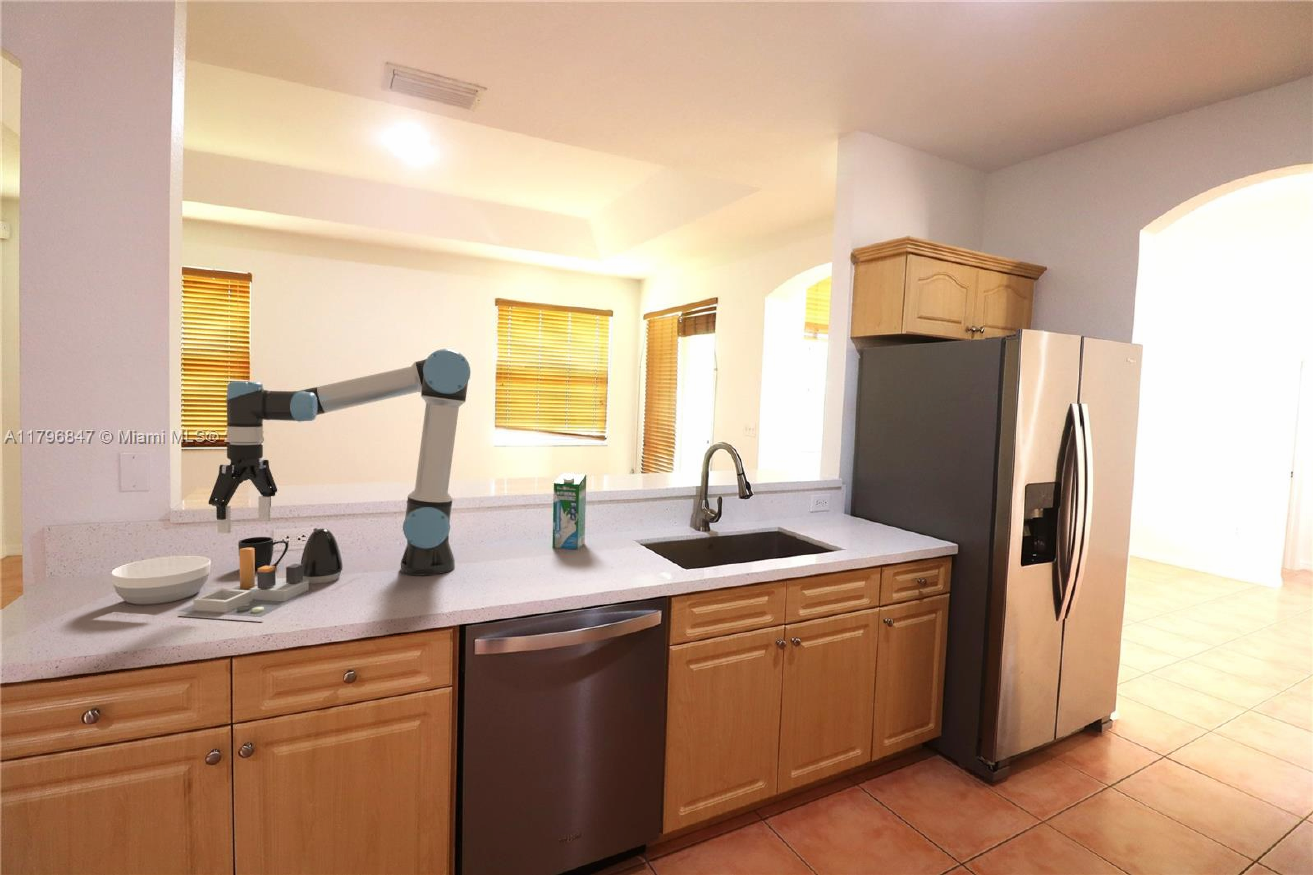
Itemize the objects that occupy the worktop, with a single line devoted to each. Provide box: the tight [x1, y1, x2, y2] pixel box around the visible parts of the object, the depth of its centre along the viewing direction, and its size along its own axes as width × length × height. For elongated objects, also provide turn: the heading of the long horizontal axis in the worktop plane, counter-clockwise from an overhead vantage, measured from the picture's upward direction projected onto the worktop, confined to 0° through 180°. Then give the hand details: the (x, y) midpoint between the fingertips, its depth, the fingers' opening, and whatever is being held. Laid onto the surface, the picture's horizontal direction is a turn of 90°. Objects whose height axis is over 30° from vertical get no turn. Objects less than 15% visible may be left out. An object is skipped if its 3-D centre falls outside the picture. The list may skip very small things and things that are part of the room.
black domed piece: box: [300, 528, 344, 584], centre depth 166 cm, size 10×10×15 cm
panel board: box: [177, 577, 316, 624], centre depth 150 cm, size 20×20×4 cm
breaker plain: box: [285, 563, 303, 583], centre depth 155 cm, size 2×3×4 cm
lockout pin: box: [238, 548, 256, 590], centre depth 157 cm, size 3×3×10 cm
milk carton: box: [552, 472, 587, 550], centre depth 216 cm, size 9×9×25 cm
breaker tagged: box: [256, 565, 277, 589], centre depth 150 cm, size 2×3×5 cm
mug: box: [237, 536, 290, 572], centre depth 174 cm, size 8×12×10 cm
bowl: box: [110, 555, 212, 606], centre depth 150 cm, size 19×19×9 cm
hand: (245, 526), depth 156 cm, fingers open, 13 cm apart
